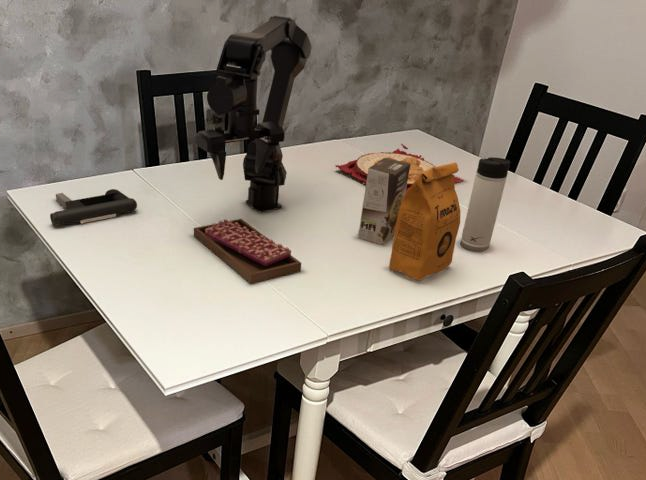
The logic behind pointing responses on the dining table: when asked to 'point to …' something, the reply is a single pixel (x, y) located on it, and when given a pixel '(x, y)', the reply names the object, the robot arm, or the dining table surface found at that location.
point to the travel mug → (484, 203)
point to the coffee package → (427, 224)
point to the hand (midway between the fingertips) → (239, 176)
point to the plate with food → (366, 161)
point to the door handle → (92, 207)
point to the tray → (247, 258)
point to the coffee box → (383, 199)
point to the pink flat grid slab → (247, 242)
